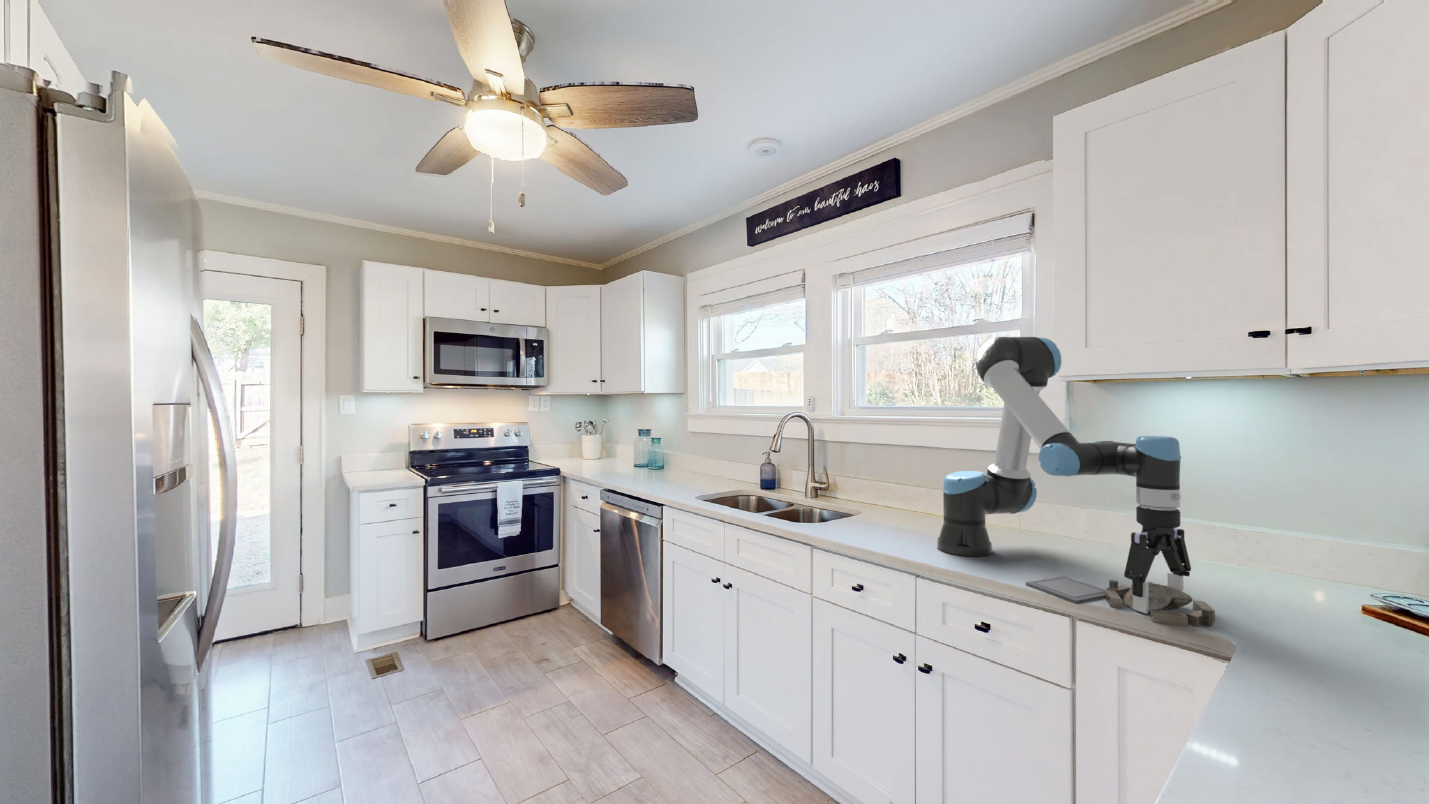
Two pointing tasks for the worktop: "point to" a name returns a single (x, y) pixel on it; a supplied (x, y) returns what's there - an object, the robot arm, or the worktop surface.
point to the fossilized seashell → (1161, 597)
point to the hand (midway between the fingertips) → (1158, 607)
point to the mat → (1068, 589)
